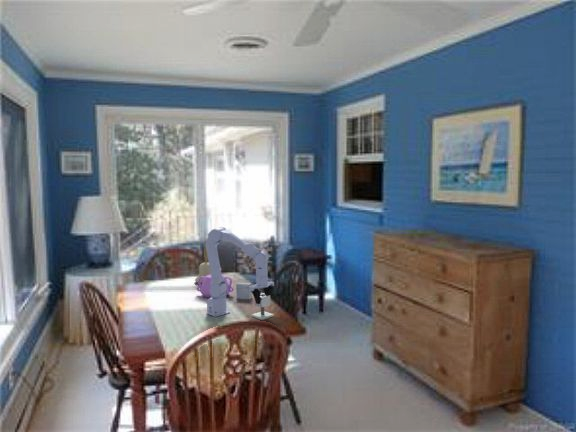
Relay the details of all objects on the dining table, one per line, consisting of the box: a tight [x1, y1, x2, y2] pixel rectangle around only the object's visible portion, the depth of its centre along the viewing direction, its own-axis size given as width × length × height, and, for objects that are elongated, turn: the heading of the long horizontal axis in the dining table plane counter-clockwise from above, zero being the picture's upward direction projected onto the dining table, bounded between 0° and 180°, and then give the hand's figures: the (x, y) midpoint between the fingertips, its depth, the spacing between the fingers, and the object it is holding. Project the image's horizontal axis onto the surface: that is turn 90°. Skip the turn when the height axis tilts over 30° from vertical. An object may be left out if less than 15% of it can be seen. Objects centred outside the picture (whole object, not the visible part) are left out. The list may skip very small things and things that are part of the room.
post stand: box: [250, 307, 275, 321], centre depth 233 cm, size 8×8×6 cm
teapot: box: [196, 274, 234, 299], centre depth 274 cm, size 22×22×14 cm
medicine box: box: [235, 282, 253, 301], centre depth 265 cm, size 8×4×9 cm, turn 74°
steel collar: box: [253, 292, 271, 308], centre depth 232 cm, size 6×6×5 cm
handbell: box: [194, 244, 211, 284], centre depth 304 cm, size 15×15×25 cm
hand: (262, 302), depth 232 cm, fingers closed on steel collar, 6 cm apart
